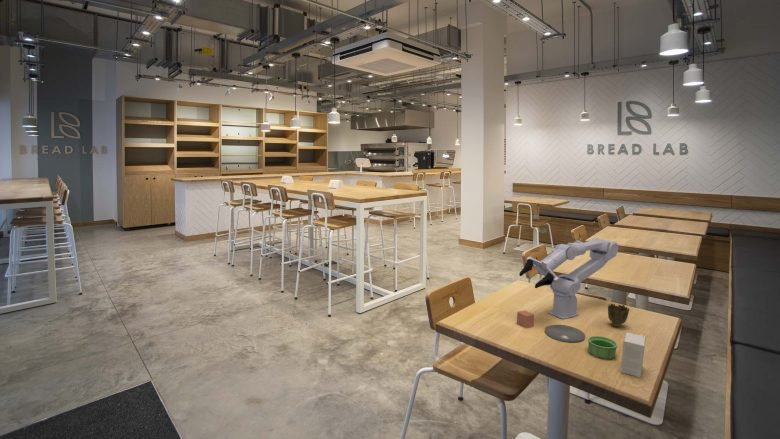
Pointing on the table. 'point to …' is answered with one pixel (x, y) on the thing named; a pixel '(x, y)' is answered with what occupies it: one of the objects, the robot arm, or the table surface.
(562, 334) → the plate
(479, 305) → the table surface
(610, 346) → the ramekin
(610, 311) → the cup
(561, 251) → the robot arm
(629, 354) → the small box
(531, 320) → the block
